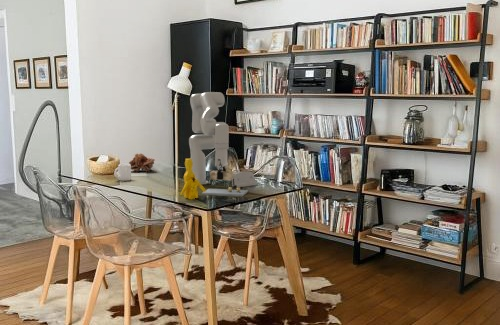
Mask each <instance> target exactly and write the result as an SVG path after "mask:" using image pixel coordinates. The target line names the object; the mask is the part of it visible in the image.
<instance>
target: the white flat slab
mask: <svg viewBox="0 0 500 325" xmlns="http://www.w3.org/2000/svg"><path fill="white" fill-rule="evenodd" d="M205 190H206V191H205V192H203V191H202V192H201V195H202V196H222V197H223V196H225V197H244V196H245V195H246V194H247V193H249V192H248V191H249V190H247V189H240V192H237V189H232V192H228V188H227V189H226V188H225V189H224V188H207V189H205Z"/></svg>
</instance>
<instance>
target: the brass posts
mask: <svg viewBox="0 0 500 325" xmlns="http://www.w3.org/2000/svg"><path fill="white" fill-rule="evenodd" d="M227 189H228V192H232V190H233V186H232V187H231V186H228V188H227ZM236 190H237V192H240V190H241V187H237V186H236Z"/></svg>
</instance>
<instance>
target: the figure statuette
mask: <svg viewBox="0 0 500 325" xmlns="http://www.w3.org/2000/svg"><path fill="white" fill-rule="evenodd" d="M192 166H193V162H192V159H191V158H185V161H184V167H185V172H184V175H183V182H184V185H183V188H182V190H181V192H180V194H179V196H182V195H183V197H184V198H186V199H187V200H195V198H196V199H198V198H199V191H198V188H199V189H201V191H202V192H205V191H206V190H207V189H206V188H205V187H204V185H201V184H200V182H199V181H198V179H195V174H194V173H193V172H192Z"/></svg>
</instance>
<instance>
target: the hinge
mask: <svg viewBox="0 0 500 325" xmlns="http://www.w3.org/2000/svg"><path fill="white" fill-rule="evenodd" d="M231 184H232V185H231V186H232V187H236V188H237V187H239V188H243V187H251V186H256V185H257V186H258V182H257V181H256V177H255V175H254V172H252V171H248V170H245V171H244V170H243V171H242V170H241V171H239V172H237V173H234V179H231Z"/></svg>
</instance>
